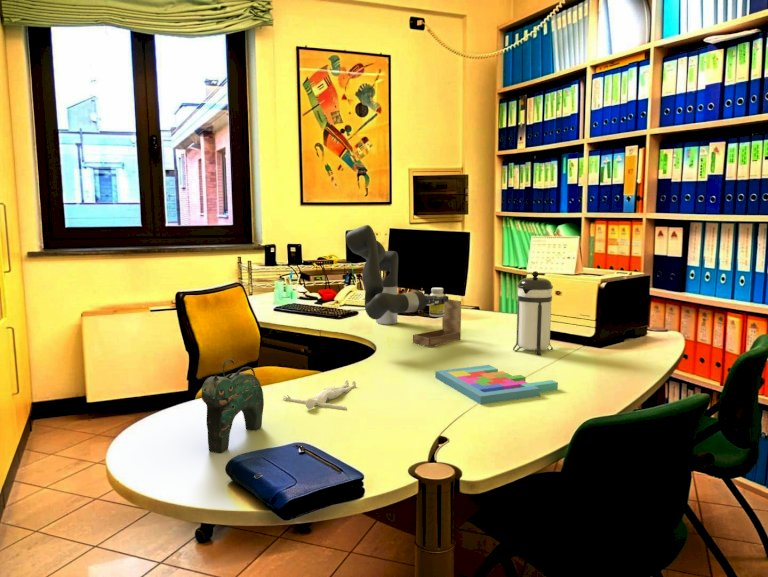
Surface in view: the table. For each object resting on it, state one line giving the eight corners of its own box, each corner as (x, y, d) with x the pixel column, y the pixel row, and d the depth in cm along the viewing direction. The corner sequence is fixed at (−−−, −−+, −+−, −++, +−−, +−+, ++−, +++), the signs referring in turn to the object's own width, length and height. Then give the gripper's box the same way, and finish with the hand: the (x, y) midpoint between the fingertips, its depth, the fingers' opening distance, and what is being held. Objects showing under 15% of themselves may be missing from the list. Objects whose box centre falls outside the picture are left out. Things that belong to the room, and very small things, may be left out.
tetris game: (480, 406, 171) (563, 394, 181) (480, 396, 171) (563, 385, 181) (435, 379, 197) (510, 370, 207) (435, 370, 197) (510, 362, 207)
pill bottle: (433, 313, 250) (433, 286, 249) (447, 315, 247) (447, 287, 246) (426, 316, 245) (426, 288, 243) (440, 317, 242) (441, 289, 240)
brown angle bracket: (412, 343, 245) (412, 303, 243) (443, 336, 257) (444, 298, 255) (429, 347, 238) (429, 306, 236) (460, 340, 250) (461, 301, 248)
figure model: (378, 382, 185) (337, 402, 162) (377, 394, 185) (337, 417, 162) (318, 374, 193) (271, 393, 171) (318, 386, 194) (271, 406, 171)
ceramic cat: (220, 457, 136) (217, 369, 133) (196, 453, 138) (192, 366, 136) (269, 427, 154) (266, 348, 152) (247, 423, 157) (244, 346, 154)
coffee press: (561, 355, 225) (564, 273, 221) (517, 355, 225) (519, 273, 221) (548, 344, 242) (551, 268, 238) (507, 344, 242) (509, 268, 238)
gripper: (424, 294, 230) (455, 290, 241) (398, 290, 240) (428, 286, 251) (424, 314, 231) (454, 309, 242) (398, 309, 241) (428, 304, 252)
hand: (441, 297), depth 247 cm, fingers closed on pill bottle, 6 cm apart
